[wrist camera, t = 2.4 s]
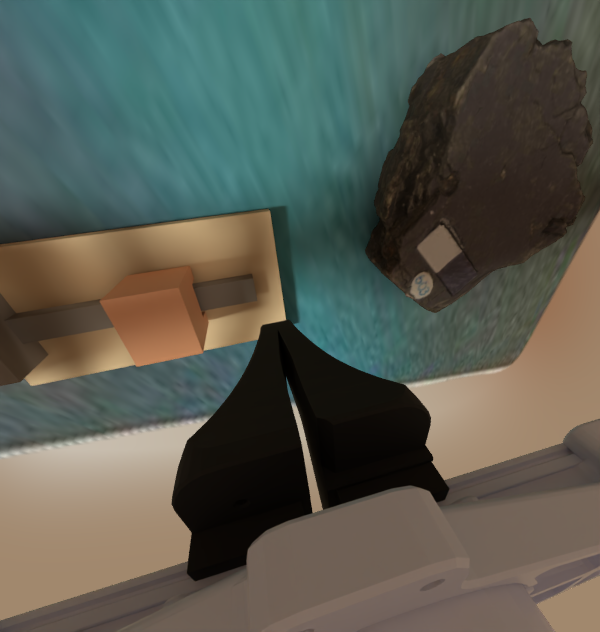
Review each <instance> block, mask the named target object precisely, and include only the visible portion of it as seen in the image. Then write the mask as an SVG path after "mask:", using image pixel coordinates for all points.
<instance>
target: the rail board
mask: <svg viewBox="0 0 600 632" xmlns="http://www.w3.org/2000/svg"><path fill="white" fill-rule="evenodd" d="M184 266H190V268H191V271H192V274H193V277H194V281H193V284H192V286H193V289H194V291H195V294H196V297H197V300H198V303H199V306H200V309H201V312H204V311H205V313H206V316H207V319H208V322H209V324H208V329H207V335H206V340H205V345H204V350H209V349H214V348H219V347H224V346H229V345H233V344H238V343H243V342H248V341H253V340H258V338H259V334H260V327H261V326H262V325H264V324H269V323H274V322H279V321H284V320H286V316H285V309H284V303H283V296H282V289H281V282H280V275H279V268H278V262H277V255H276V248H275V241H274V234H273V228H272V221H271V214H270V210H269V209H263V210H255V211H248V212H240V213H233V214H225V215H218V216H210V217H203V218H195V219H188V220H180V221H173V222H165V223H158V224H150V225H143V226H135V227H128V228H120V229H113V230H105V231H98V232H90V233H83V234H75V235H68V236H60V237H53V238H45V239H38V240H30V241H23V242H15V243H8V244H0V386H2V385H7V384H12V383H17V382H21V381H22V380H23V379H24V378H25V379H26V381H27V382H28V383H29V384H30V385H31V386H34V385H39V384H44V383H49V382H53V381H58V380H63V379H68V378H73V377H78V376H83V375H88V374H92V373H97V372H102V371H107V370H112V369H117V368H122V367H126V366H131V365H136V364H135V363H134V361H133V359H132V357H131V356H130V354H129V352H128V350H127V349H126V347H125V345H124V343H123V342H122V340H121V338H120V336H119V335H118V333H117V331H116V329H115V328H114V326H113V324H112V322H111V321H110V319H109V317H108V315H107V314H106V312H105V310H104V308H103V307H102V305H101V303H100V300H101V299H102V298H103V297H104V296H105V295H106V294H108V293H109V292H110V291H111V290H112V289H113V288H114V287H115V286H116V285H117V284H118V283H119V282H121V281H122V280H123V279H124V278H125V277H126V276H127V275H133V274H140V273H146V272H152V271H159V270H165V269H171V268H178V267H184Z"/></svg>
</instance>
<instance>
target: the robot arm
mask: <svg viewBox="0 0 600 632" xmlns="http://www.w3.org/2000/svg"><path fill="white" fill-rule="evenodd" d="M286 377H287V380H288V383H289V386H290V388H291V391H292V394H293V397H294V400H295V403H296V406H297V408H298V411H299V414H300V417H301V421H302V424H303V428H304V432H305V437H306V441H307V445H308V449H309V453H310V457H311V461H312V465H313V470H314V474H315V478H316V482H317V487H318V491H319V495H320V499H321V503H322V508H323V510H321V511H318V512H315V513H312V507H311V500H310V492H309V486H308V480H307V474H306V468H305V462H304V456H303V450H302V444H301V440H300V436H299V431H298V428H297V423H296V420H295V416H294V413H293V409H292V405H291V402H290V398H289V394H288V390H287V382H286ZM430 423H431V417H430V414H429V411H428V410H427V409H426V408H425V406H424V405H423V404H422V403H421V401H420V400H419V399H418V398H417V397H416V396H415V395H414V394H413V393H412V392H411V391H410V390H409V389H408V388H407V386H406V385H404V384H400V383H397V382H393V381H390V380H386V379H382V378H379V377H376V376H374V375H371V374H368V373H365V372H363V371H360V370H358V369H356V368H353V367H351V366H349V365H347V364H345V363H343V362H341V361H339V360H337V359H336V358H334V357H332V356H331V355H329V354H327V353H326V352H325V351H323V350H322V349H320V348H319V347H318V346H316V345H315V344H314V343H313V342H311V341H310V340H309V339H308V338H307V337H306V336H304V335H303V334H302V333H301V332H300V331H299V330H298V329H297V328H296V327H295V326H294V325H293V323H292V322H291V321H289V320H284V321H279V322H274V323H269V324H264V325H262V326H261V327H260V334H259V338H258V342H257V345H256V347H255V350H254V353H253V355H252V357H251V360H250V362H249V364H248V366H247V368H246V370H245V372H244V374H243V375H242V377H241V379H240V380H239V382H238V383H237V385H236V386H235V388H234V389H233V391H232V392H231V394H230V395H229V396H228V398H227V399H226V400H225V402H224V403H223V404H222V405H221V406H220V408H219V409H218V410H217V411H216V412H215V414H214V415H213V416H212V417H211V418H210V419H209V420H208V421H207V422H206V423H205V424H204V425H203V426H202V427H201V428H200V429H199V430H198V431H197V432H196V433H195V434H194V435H193V436H192V437H191V438H189V439H188V440H187V443H186V445H185V448H184V451H183V454H182V457H181V460H180V463H179V466H178V471H177V475H176V480H175V485H174V491H173V496H172V506H173V508H174V510H175V512H176V513H177V514H178V516H179V517H180V518H181V519H182V521H183V522H184V523H185V525H186V526H187V527H188V528H189V530H190V531H191V532H192V535H191V543H190V551H189V558H188V562H185V563H181V564H178V565H175V566H172V567H169V568H166V569H162V570H159V571H156V572H153V573H150V574H147V575H144V576H140V577H137V578H134V579H131V580H128V581H125V582H121V583H118V584H115V585H112V586H109V587H105V588H102V589H99V590H96V591H93V592H90V593H87V594H83V595H80V596H77V597H74V598H71V599H67V600H64V601H61V602H58V603H55V604H52V605H48V606H45V607H42V608H39V609H36V610H33V611H29V612H26V613H24V614H20V615H17V616H14V617H11V618H7V619H4V620H1V621H0V632H555V631H554V629H553V628H552V627H551V625H550V624H549V622H548V621H547V619H546V618H545V616H544V615H543V614H542V612H541V611H540V609H539V608H538V607H537V605H536V604H538V603H540V602H542V601H545V600H547V599H549V598H551V597H554V596H556V595H558V594H560V593H562V592H565V591H567V590H569V589H571V588H573V587H576V586H578V585H580V584H582V583H585V582H586V581H589V580H591V579H593V578H596V577H598V576H600V419H597V420H594V421H591V422H588V423H584V424H581V425H579V426H576V427H575V428H573V429H572V430H571V431H570V432H569V433H568V434H567V435H566V436H565V438H564V440H563V443H562V444H559V445H555V446H552V447H549V448H546V449H542V450H540V451H536V452H533V453H530V454H526V455H523V456H520V457H517V458H514V459H511V460H507V461H504V462H501V463H498V464H495V465H492V466H489V467H485V468H482V469H479V470H476V471H473V472H470V473H467V474H463V475H460V476H457V477H454V478H451V479H447V480H443V478H442V477H441V475H440V474H439V472H438V471H437V470H436V468H435V466H434V465H433V463H432V462H431V461H433V456H432V454H431V453H430V451H429V450H428V448H427V447H426V446H425V444H426V440H427V436H428V432H429V428H430Z"/></svg>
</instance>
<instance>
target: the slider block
mask: <svg viewBox="0 0 600 632" xmlns="http://www.w3.org/2000/svg"><path fill="white" fill-rule="evenodd" d="M193 281H194V277H193V274H192V271H191V268H190V266H184V267H178V268H171V269H165V270H159V271H152V272H146V273H140V274H133V275H127V276H126V277H125V278H124V279H123V280H122V281H121V282H119V283H118V284H117V285H116V286H115V287H114V288H113V289H112V290H111V291H110V292H109V293H108V294H106V295H105V296H104V297H103V298H102V299H101V300H100V303H101V305H102V307H103V308H104V310H105V312H106V314H107V315H108V317H109V319H110V321H111V322H112V324H113V326H114V328H115V329H116V331H117V333H118V335H119V336H120V338H121V340H122V342H123V343H124V345H125V347H126V349H127V350H128V352H129V354H130V356H131V357H132V359H133V361H134V363H135V364H136V366H137V367H138V366H143V365H148V364H153V363H157V362H162V361H167V360H172V359H177V358H182V357H186V356H191V355H196V354H201V353H203V351H204V345H205V340H206V335H207V329H208V324H209V322H208V319H207V316H206V313H205V311H204V312H201V309H200V306H199V303H198V300H197V297H196V294H195V291H194V289H193V286H192V284H193Z"/></svg>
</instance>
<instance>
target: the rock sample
mask: <svg viewBox="0 0 600 632" xmlns="http://www.w3.org/2000/svg"><path fill="white" fill-rule="evenodd" d="M538 32H539V31H538V30H537V29H536V27H535V25H534V23H533V21H532V20H531V18H528V19H524V20H521V21H516V22H514V23H511V24H509V25H506V26H504V27H503V28H501V29H499V30H497V31H495V32H492V33H489V34H487V35H484V36H477V37H475V38H474V39H472V40H471V41H469V42H468V43H467V44H465V45H464V46H463V47H461V48H460V49H458V50H457V51H456V52H454V53H451V54H449V55H447V56H444V55H443V54H442V53H441V54H440V55H438V56H436V57H435V58H434V59H433V60H432V61H431V62H430V63H429V64H428V65H427V68H426V70H425V72H424V74H423V75H422V76H420V77H419V78H418V80H417V82H416V84H415V85H414V86H413V87H412V89H411V92H410V95H409V99H408V103H409V105H410V106H409V109H408V112H407V115H406V118H405V120H404V122H403V125H402V126H401V129H400V136H399V138H398V141H397V143H396V145H395V147H394V149H392V150H391V151H389V153H388V155H387V157H386V160H385V162H384V164H383V167H382V172H381V175H380V178H379V183H378V188H379V189H378V191H377V193H376V196H375V200H374V205H375V207H376V213H377V216H379V217H380V221H379V223H378V224H377V226H376V228H374V229H373V230H372V233H371V238H370V241H369V243H368V245H367V247H366V249H365V252H366V255H367V256H368V258H369V259H370V261H371V262H372V263H373V264H374V265H375V266H376V267H377V268H378V269H379V270H380V271H381V273H383V274H384V275H385V276H386V277H387V278H388V279H389V280H391V281H392V282H393V283H394V284H395V285H396V286H397V287H398V288H400V289H401V290H402V291H403V292H404V293H405V295H406V296H407V297H410V298H412V299H413V300H414V301H415V302H417V303H418V304H419V305H420V306H422V307H423V308H425V309H426V310H428V311H431V312H434V313H436V312H438V311H440V310H441V309H443V308H445V307H447V306H448V305H450V304H452V303H453V302H455V301H456V300H457V299H459V298H460V297H462V296H463V295H465V294H466V293H467V292H469V291H470V290H471V289H472V288H473V287H474V286H476V285H477V284H478V283H479V282H480V281H481V280H482V279H484V278H485V277H486V276H487V275H489V274H490V273H491V272H493V271H495V270H497V269H499V268H503V267H507V266H510V265H516V264H521V263H524V262H525V261H526V260H527V259H528V258H530V257H531V256H532V255H534V254H536V253H537V252H539V251H540V250H542V249H543V248H545V247H547V246H549V245H550V244H552V243H554V242H556V241H557V240H558V239H560V238H562V237H563V236H564V235H565V234H566V233H567V230H566V227H568V226H570V225H573V223H574V221H575V219H576V217H575V216H576V215H577V213H578V211H579V209H580V208H581V205H582V204H583V202H584V199H585V196H584V195H583V193H582V190H581V188H580V182H579V181H578V180H577V166H579V165H580V164H581V163H582V162H583V159H584V157H585V155H586V153H587V151H588V149H589V148H590V146H591V145H592V144H593V139H592V137H591V135H592V127H591V124H590V122H589V120H588V115H587V111H586V109H585V107H584V106H583V105H582V104H581V100H582V99H583V97H584V96H585V94H586V93H587V92H586V87H585V84H586V78H587V72H586V71H581V70H578V69H577V68H576V67H575V63H574V60H573V59H572V50H571V45H572V42H571V41H569V40H568V39H567V40H563V41H558V40H553V41H550V42H548V43H546V44H544V45H542V44H541V43H540V41H538V40H537V35H538Z"/></svg>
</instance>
